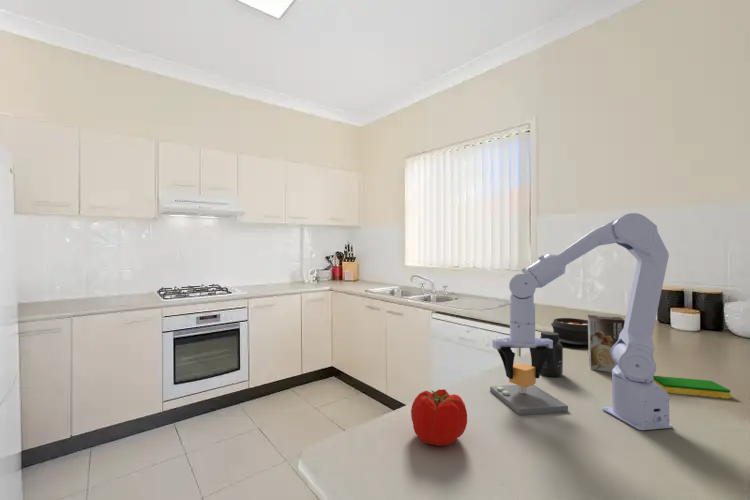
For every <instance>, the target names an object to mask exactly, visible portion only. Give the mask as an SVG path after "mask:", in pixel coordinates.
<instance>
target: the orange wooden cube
mask: <svg viewBox="0 0 750 500" xmlns="http://www.w3.org/2000/svg"><path fill="white" fill-rule="evenodd" d="M508 383H511V384H513V385H520V386H523V387H526V388H527V387H529V386H531V385H533V384H534V385H536V383H537V378H536V367H533V366H532V365H529V364H526V363H522V362H517V363H513V379H509V378H508Z"/></svg>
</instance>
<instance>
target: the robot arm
mask: <svg viewBox="0 0 750 500" xmlns="http://www.w3.org/2000/svg"><path fill="white" fill-rule="evenodd" d="M659 233H660V232H659V231H658V225H656V224H655V223H654V222H653V221H652V220H651V219H649V218H648V217H647V216H645V215H643V214H641V213H637V212H632V213H631V212H629V213H626V214H624V215H622V216H620V217H617V218H615V219H613V220H612V221H610V222H608V223H606V224H604V225H602V226H599V227H597V228H594V229H593V230H591V231H589V232H588V233H587V234H585V235H583V236H582V237H580V238H579V239H578V240H577V241H575V242H574V243H572V244H571V245H569V246H568V247H566V248H565V249H564V250H562V251H561V252H559V253H558V254H552V253H547V254H546V255H545V256H544V255H543V254H542V255H540V256H538V257H537V259H538V260H537V261H536V262H534V263H532V264H531V265H529V266H528V267H523V268H521V269H520V270H521V272H522V273H517V274H515V275H514V276H513V277H511V279H510V281H509V285H508V286H509V287H508V288H509V290H510V292H511V293H510V296H509V297H510V298H509V300H510V303H509V337H505V338H504V337H503V338H497V339H492V340H491V341H492V343H491V344H492V348H493V349H495V350H496V351H497V352H498V354H499V357H500V358H501V361H502V363H503V367H504V371H505V375H506V378H508V380H509V379H513V364H515V357H516V353H515V352H513V349H529V352H530V360H531V366H533V367H536V379H540V376H541V374H540V372H541V369H542V366H543V364H544V362H545V360H546V359H547V357H548V356H549V350H547V349H546V348H553V340H550V339H542V338H540V337H539V338H538V337H536V305H535V304H536V303H534V300H535V299H534V294H535V292H536V289H538V288H539V289H542V288H543V287H545V286H546V285H549V284H550V283H551V282H553V281H554V280H556V279H557V278H559V277H561V276H562V275H565V273H566V267H567V265H569V264H570V263H573V262H574V261H575V260H577V259H579V258H581V257H582V256H583V255H585V254H588V252H591V251H593V250H594V249H595V248H597V247H599V246H605V245H612V244H617V245H619V246H621V247H623V248H625V249H626V250H627V251H628V252H629V253H630V254H631V255H632V256H633V257H634V258H635V259H636V265H635V271H634V276H633V281H632V284H631V290H630V293H629V299H628V305H627V309H626V310H627V311H626V314H625V317H624V318H625V319H624V320H625V323H624V328H623V330H622V331H621V333H620V334H619V339H618V341H617V342H616V343H615V344H614V345H613V347H612V349H611V356H612V359H613V360H614V361H615V362H616V363H617V364H616V366H615V367H614V368H613V369H612V372H611V399H612V401H611V406H603V407H602V408H601V409H602V411H604V412H606V413H608V414H610V415H611V416H613V417H615V418H617V419H618V420H620V421H622V422H624V423H626V424H627V425H629V426H632V427H633V428H635V429H636V430H639V431H649V430H661V429H670V428H673V427H674V425H673V424H671V423H670V396H669V393H667V391H666V390H665V389H664V388H662V387H660V386H659V385H657V384H656V383H655V381H654V377H653V376H655V373H657V372H656V371H657V363H656V361H655V358H654V351H655V345H654V341H653V333H654V328H655V324H656V320H657V319H656V318H657V314H658V309H659V304H660V299H661V295H662V290H663V285H664V280H665V276H666V271H667V268H668V262H669V257H670V255H669V251H668V249H667V247H666V246H665V243H664V241H663V239H662V238H661V235H660V234H659Z"/></svg>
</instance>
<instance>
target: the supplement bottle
mask: <svg viewBox="0 0 750 500" xmlns="http://www.w3.org/2000/svg"><path fill="white" fill-rule="evenodd" d="M539 338H542V339H550V340H553V348H546V349H547V350H549V356H548V357H547V359H546V360H545V362H544V364H543V366H542V369H541V372H540V375H543V376H545V377H552V378H560V377H561V376H563V373H564V351H563V350H564V347H563V345H562V343H561V342H558V341H559V334H558V333H554V331H541V332H540V337H539Z"/></svg>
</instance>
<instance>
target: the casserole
mask: <svg viewBox="0 0 750 500" xmlns="http://www.w3.org/2000/svg"><path fill="white" fill-rule="evenodd" d="M550 326H551V327H552V330H553V331H552V332H554V333H558V334H559V341H558V342H559V343H560V344H562V343H563V344H568V345H575V346H588V319H581V318H573V317H572V318H571V317H560V318H558V317H557V318H554V319H553V320H552V322H551V323H550Z"/></svg>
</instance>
